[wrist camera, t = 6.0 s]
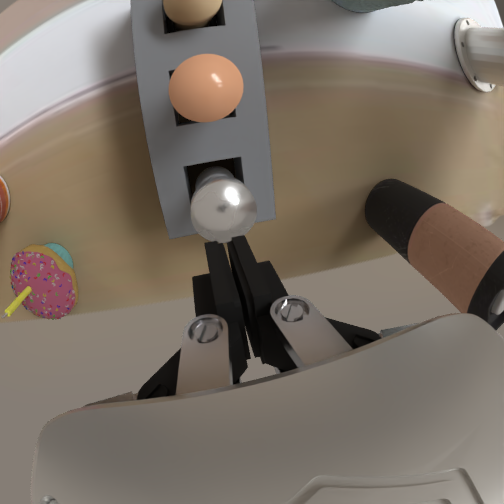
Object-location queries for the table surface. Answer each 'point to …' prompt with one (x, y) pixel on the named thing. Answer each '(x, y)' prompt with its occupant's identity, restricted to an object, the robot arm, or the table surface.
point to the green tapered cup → (370, 4)
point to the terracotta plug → (206, 88)
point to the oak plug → (191, 13)
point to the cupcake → (43, 281)
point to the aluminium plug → (221, 206)
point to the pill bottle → (4, 199)
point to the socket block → (202, 133)
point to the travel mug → (442, 247)
